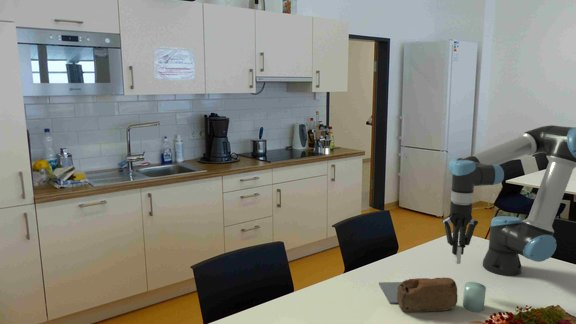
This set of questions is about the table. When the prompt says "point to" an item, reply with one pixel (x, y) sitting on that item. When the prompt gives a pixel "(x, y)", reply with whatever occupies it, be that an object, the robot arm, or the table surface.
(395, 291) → the mat
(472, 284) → the pale blue rounded cylinder
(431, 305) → the brown sandstone rock
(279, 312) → the table surface
